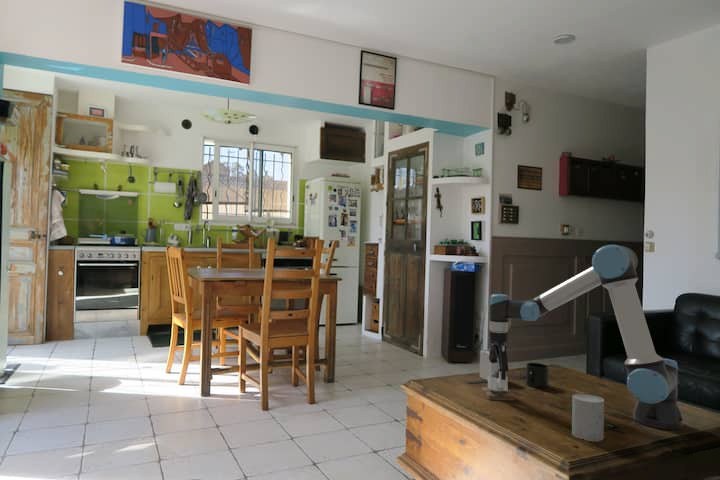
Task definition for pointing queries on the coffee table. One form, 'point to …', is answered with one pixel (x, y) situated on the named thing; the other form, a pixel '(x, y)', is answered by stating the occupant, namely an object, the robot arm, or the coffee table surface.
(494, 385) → the ring
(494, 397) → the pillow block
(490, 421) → the coffee table surface
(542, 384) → the mug
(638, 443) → the coffee table surface
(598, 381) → the coffee table surface
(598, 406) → the white cylinder
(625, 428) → the coffee table surface
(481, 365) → the soap bottle
